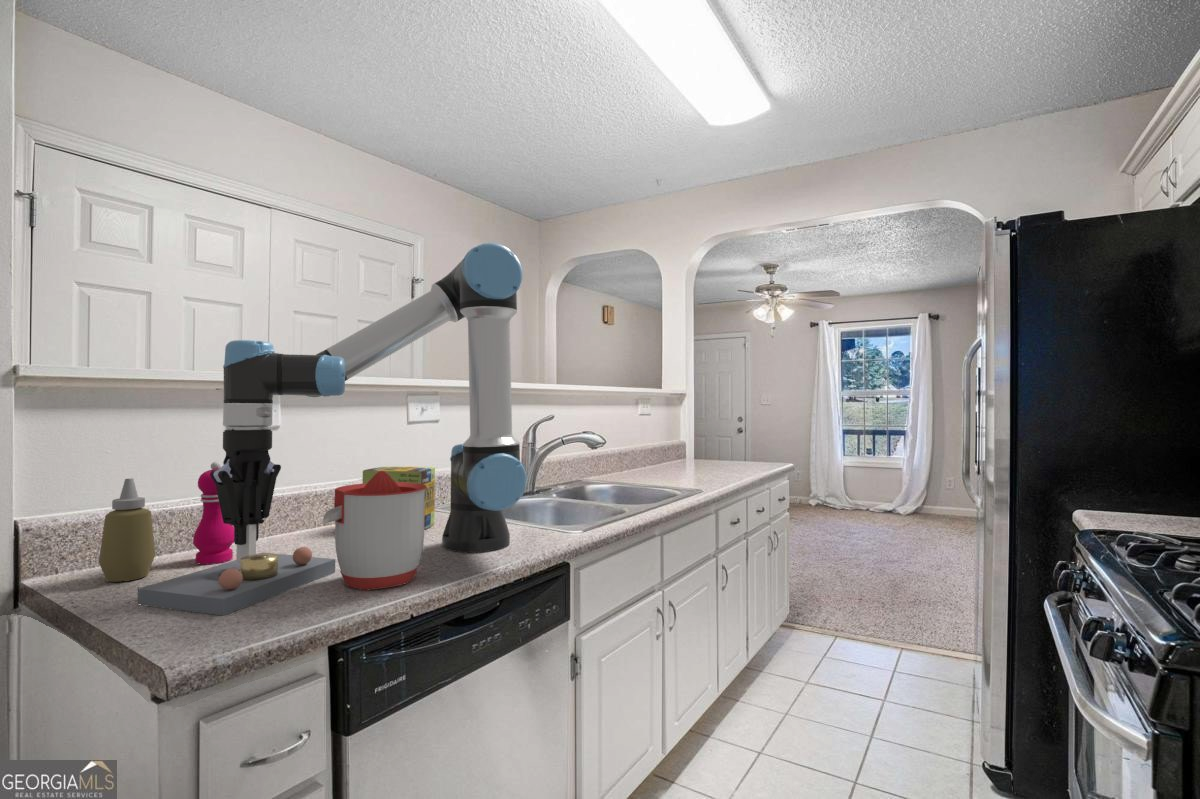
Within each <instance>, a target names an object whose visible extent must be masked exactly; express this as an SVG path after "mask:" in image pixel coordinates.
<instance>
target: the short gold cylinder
mask: <svg viewBox="0 0 1200 799" xmlns="http://www.w3.org/2000/svg"><path fill="white" fill-rule="evenodd" d="M260 553H261V554H259V553H256V554H254V555H249V556H245V557H243V558H241V570H240V572H241V573H242V576H243V579H246V580H255V579H264V578H268V577H272V576H275V575H276V574H278V555H277V554H278V553H275V554H274V553H272V552H264V553H262V552H260Z"/></svg>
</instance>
